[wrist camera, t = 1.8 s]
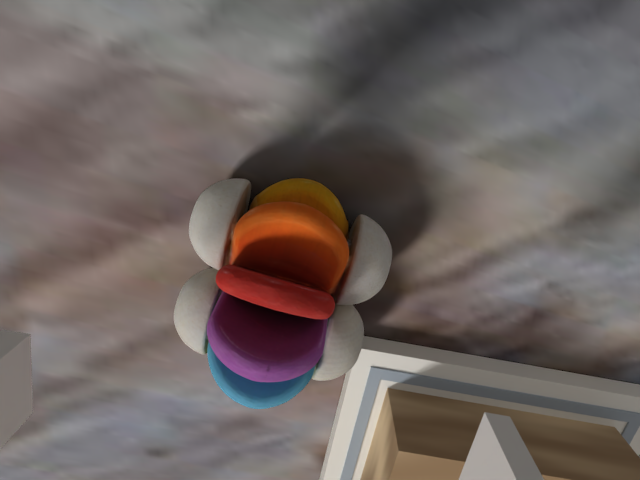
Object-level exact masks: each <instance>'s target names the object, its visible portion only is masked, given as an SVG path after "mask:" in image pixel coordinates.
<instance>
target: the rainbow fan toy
mask: <svg viewBox="0 0 640 480" xmlns="http://www.w3.org/2000/svg"><path fill="white" fill-rule="evenodd" d="M250 194H251V183H250V181H249V180H246V179H239V178H234V179H227V180H223V181H220V182H217V183H215V184H213V185H211V186H210V187H208V188H207V189H206V190H204V191H203V192H202V194H201V195H200V196H199V198H198V200H197V202H196V204H195V206H194V209H193V212H192V215H191V219H190V224H189V236H190V240H191V243H192V245H193V247H194V249H195V251H196V253H197V254H198V255H199V257H200V258H201V259H202V260H203V261H204V262H205V263H207V264H208V265H210V266H211V267H213V268H209V269H205V270H202V271H201V272H199V273H197V274H195V275H194V276H192V277H191V278H190V279H189V280H188V281H187V282H186V283H185V284H184V286H183V288H182V290H181V292H180V294H179V296H178V299H177V302H176V306H175V311H174V323H175V327H176V330H177V332H178V334H179V336H180V337H181V339H182V340H183V341H184V343H185V344H186V345H187V346H189V347H190V348H191V349H193V350H194V351H196V352H198V353H200V354H203V355H204V354H206V353H208V362H209V366H210V369H211V372H212V375H213V377H214V379H215V381H216V382H217V384H218V386H219V387H220V388H221V390H222V391H223V392H224V393H225V394H226V395H227V396H229V397H230V398H231V399H232V400H234V401H236V402H237V403H239V404H241V405H244V406H246V407H249V408H254V409H265V408H270V407H274V406H277V405H280V404H283V403H285V402H287V401H289V400H290V399H292V398H293V397H294V396H296V395H297V394H298V393H299V392H300V391H301V390H302V389H303V388H304V387H305V386H306V385H307V384H308V382H309V381H310V379H311V377H312V379H314V380H318V381H324V380H331V379H334V378H337V377H339V376H341V375H343V374H345V373H346V372H348V371H349V370H350V369H351V368H352V367H353V366H354V365H355V363H356V361H357V360H358V357H359V354H360V351H361V348H362V343H363V336H364V326H363V321H362V319H361V317H360V315H359V313H358V311H357V310H356V308H355V307H354V306H353V304H358V303H361V302H364V301H366V300H368V299H370V298H372V297H373V296H374V295H376V294H377V293H378V292H379V291H380V290H381V289H382V287H383V285H384V284H385V281H386V279H387V276H388V273H389V270H390V266H391V261H392V247H391V244H390V241H389V239H388V237H387V235H386V233H385V232H384V230H383V229H382V228H381V226H380V225H379V224H377V223H376V222H375V221H374V220H372V219H371V218H369V217H368V216H366V215H362V214H360V215H359V216H357V218H356V219H355V221H354V223H353V225H352V227H351V230H350V232H349V234H348V228H349V227H348V220H346V216H345V213H344V211H343V208H342V206H341V204H340V202H339V200H338V199H337V198H336V196H335V195H334V194H333V193H332V192H331V191H330V190H329V189H328V188H327V187H325V186H324V185H322V184H321V183H319V182H316V181H314V180H310V179H304V178H294V179H286V180H283V181H280V182H277V183H275V184H273V185H271V186H269V187H267V188H266V189H265V190H263V191H262V192H261V193H260V194H258V195H256V197H255V198H254V199H253V201H252V203H251V205H250V209H249V211H248V212H247V210H248V205H249V201H250Z"/></svg>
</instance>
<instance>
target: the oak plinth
mask: <svg viewBox="0 0 640 480" xmlns="http://www.w3.org/2000/svg"><path fill="white" fill-rule="evenodd" d="M484 412H487V413H492V414H498V415H504V416H510V418H511V419H512V421H513V423H514V425H515V427H516V429H517V431H518V432H519V434H520V436H521V438H522V440H523V442H524V443H525V445H526V447H527V449H528V451H529V453H530V455H531V456H532V458H533V460H534V462H535V464H536V466H537V467H538V469H539V471H540V473H541V475H542V477H543V479H544V480H640V458H639V456H638V455H637V454H636V453H635V451H634V450H633V449H632V448H631V446H630V445H629V444H628V443H627V442H626V440H625V439H624V438H623V437H622V435H621V434H620V433H619V432H618V430H617V429H616V428H615V427H612V426H606V425H600V424H594V423H589V422H583V421H577V420H571V419H565V418H560V417H554V416H548V415H542V414H536V413H531V412H525V411H519V410H513V409H507V408H502V407H496V406H490V405H484V404H478V403H473V402H467V401H461V400H455V399H449V398H444V397H438V396H432V395H426V394H420V393H415V392H409V391H403V390H397V389H391V388H387V391H386V394H385V398H384V401H383V404H382V408H381V411H380V415H379V418H378V421H377V425H376V428H375V432H374V435H373V438H372V442H371V445H370V448H369V452H368V455H367V459H366V462H365V465H364V469H363V472H362V476H361V479H360V480H459V477H460V475H461V472H462V469H463V467H464V464H465V462H466V459H467V456H468V454H469V451H470V449H471V446H472V443H473V441H474V438H475V436H476V433H477V430H478V428H479V425H480V423H481V420H482V417H483V415H484Z"/></svg>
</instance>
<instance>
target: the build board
mask: <svg viewBox="0 0 640 480" xmlns="http://www.w3.org/2000/svg"><path fill="white" fill-rule="evenodd" d="M387 388H391V389H397V390H403V391H409V392H415V393H420V394H426V395H432V396H438V397H444V398H449V399H455V400H461V401H467V402H473V403H478V404H484V405H490V406H496V407H502V408H507V409H513V410H519V411H525V412H531V413H536V414H542V415H548V416H554V417H560V418H565V419H571V420H577V421H583V422H589V423H594V424H600V425H606V426H612V427H615V428H616V429H617V430H618V432H619V433H620V434H621V435H622V437H623V438H624V439H625V440H626V442H627V443H628V444H629V445H630V446H631V448H632V449H633V450H634V451H635V453H636V454H637V455H638V456H639V455H640V385H639V384H634V383H628V382H622V381H617V380H611V379H605V378H600V377H594V376H588V375H583V374H577V373H572V372H566V371H560V370H555V369H549V368H543V367H538V366H532V365H526V364H521V363H515V362H509V361H504V360H498V359H492V358H487V357H481V356H475V355H470V354H464V353H458V352H453V351H447V350H442V349H436V348H430V347H425V346H419V345H413V344H408V343H402V342H396V341H391V340H385V339H379V338H374V337H368V336H363V343H362V348H361V351H360V354H359V357H358V360H357V361H356V363H355V365H354V366H353V367H352V368H351V369H350V370H349V371H348V372H346V375H345V379H344V383H343V387H342V391H341V395H340V399H339V403H338V407H337V411H336V415H335V419H334V423H333V427H332V431H331V435H330V439H329V443H328V447H327V451H326V455H325V459H324V463H323V467H322V471H321V475H320V479H319V480H360V479H361V476H362V472H363V469H364V465H365V462H366V459H367V455H368V452H369V448H370V445H371V442H372V438H373V435H374V432H375V428H376V425H377V421H378V418H379V415H380V411H381V408H382V404H383V401H384V398H385V394H386V391H387Z"/></svg>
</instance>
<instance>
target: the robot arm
mask: <svg viewBox="0 0 640 480" xmlns="http://www.w3.org/2000/svg"><path fill="white" fill-rule="evenodd" d="M32 414H33V395H32V367H31V339H30V334H26V333H20V332H14V331H9V330H1V331H0V449H1V448H2V447H3V446H4V444H5V443H6V442H7V441H8V440H9V439H10V438H11V437H12V436H13V435H14V433H15V432H16V431H17V430H18V429H19V428H20V427H21V426H22V425H23V424H24V422H25V421H26V420H27V419H28V418H29V417H30V416H31V415H32ZM459 480H544V479H543V477H542V475H541V473H540V471H539V469H538V467H537V466H536V464H535V462H534V460H533V458H532V456H531V455H530V453H529V451H528V449H527V447H526V445H525V443H524V442H523V440H522V438H521V436H520V434H519V432H518V431H517V429H516V427H515V425H514V423H513V421H512V419H511V418H510V416H504V415H498V414H492V413H487V412H484V415H483V417H482V420H481V423H480V425H479V428H478V430H477V433H476V436H475V438H474V441H473V443H472V446H471V449H470V451H469V454H468V456H467V459H466V462H465V464H464V467H463V469H462V472H461V475H460V477H459Z"/></svg>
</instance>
